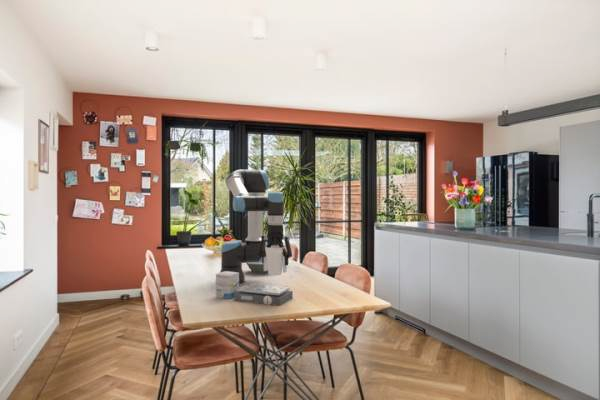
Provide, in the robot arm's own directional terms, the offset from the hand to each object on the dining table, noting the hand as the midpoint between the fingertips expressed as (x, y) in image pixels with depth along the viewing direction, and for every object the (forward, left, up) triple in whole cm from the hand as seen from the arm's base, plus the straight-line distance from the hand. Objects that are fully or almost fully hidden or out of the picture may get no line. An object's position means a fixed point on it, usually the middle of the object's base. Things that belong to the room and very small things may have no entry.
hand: (275, 271), depth 199 cm
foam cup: (0, 0, -2) cm, 2 cm away
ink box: (-25, -2, -14) cm, 29 cm away
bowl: (-39, +60, -14) cm, 73 cm away
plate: (-6, 0, -10) cm, 11 cm away
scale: (-6, 0, -14) cm, 15 cm away
